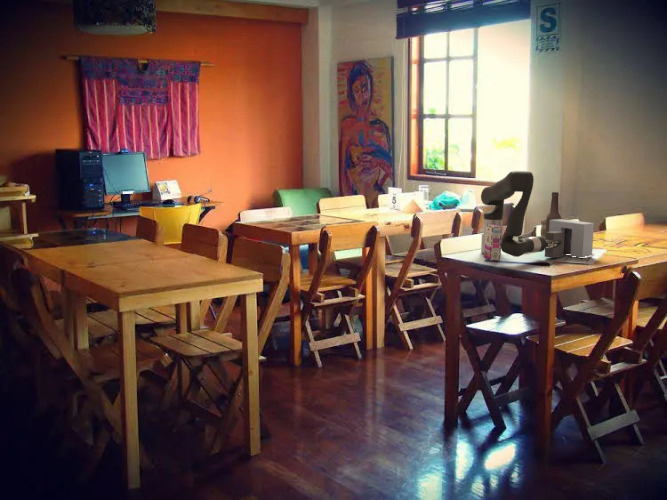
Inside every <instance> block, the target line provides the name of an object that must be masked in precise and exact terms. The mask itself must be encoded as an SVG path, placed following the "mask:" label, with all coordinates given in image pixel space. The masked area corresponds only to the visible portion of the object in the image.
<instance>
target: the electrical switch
mask: <svg viewBox="0 0 667 500" xmlns="http://www.w3.org/2000/svg"><path fill="white" fill-rule="evenodd" d="M529 237H533V236H532V232H526V233H522V234H521V235H520V236H518V237H517V239H518V240H520V239H524V238H529ZM518 240H517V241H518Z"/></svg>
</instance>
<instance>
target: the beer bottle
mask: <svg viewBox="0 0 667 500" xmlns="http://www.w3.org/2000/svg"><path fill="white" fill-rule="evenodd" d="M559 197H560V195H559V192H557V191H552V192H551V199H550V200H551V201H550V202H551V203H550V209H549V213H548V214H547V216H546V219H545V220H546V232H549V224H550V220H555V219H562V217H561V214H560V212H559ZM545 239H546V235H545Z"/></svg>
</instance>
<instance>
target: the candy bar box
mask: <svg viewBox="0 0 667 500" xmlns="http://www.w3.org/2000/svg"><path fill="white" fill-rule="evenodd" d="M501 229H502V230H503V226H502V227H500V226H498V225H495V224H486V232H485V252H484V253H483V254H484V255H483V257H484V258H485V259H487V260H488V261H491V262H499V261H501V253H500V247H501V242H502V238H501Z"/></svg>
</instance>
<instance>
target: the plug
mask: <svg viewBox="0 0 667 500" xmlns="http://www.w3.org/2000/svg"><path fill="white" fill-rule="evenodd" d="M563 237H564V232H559V231H552V232H546V240H553V241H558V240H561V245H559V247H556V248H553V247H548V248H545V250H544V257H545V258H551V259H555V258H561V257H563V256H564V255H563ZM550 242H551V241H550Z"/></svg>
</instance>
